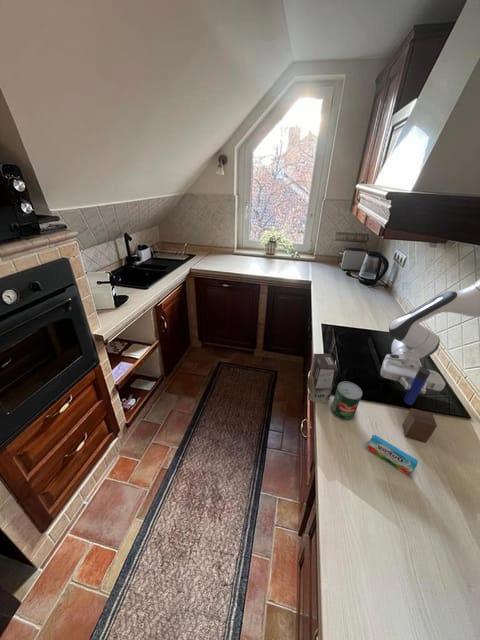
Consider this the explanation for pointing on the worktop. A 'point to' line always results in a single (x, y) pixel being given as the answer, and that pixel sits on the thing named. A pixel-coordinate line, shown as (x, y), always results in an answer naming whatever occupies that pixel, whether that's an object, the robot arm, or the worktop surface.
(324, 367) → the coffee box
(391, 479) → the worktop surface
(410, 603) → the worktop surface
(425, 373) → the dark blue flat piece
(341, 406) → the canned tomato
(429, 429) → the walnut block
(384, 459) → the yogurt
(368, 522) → the worktop surface
